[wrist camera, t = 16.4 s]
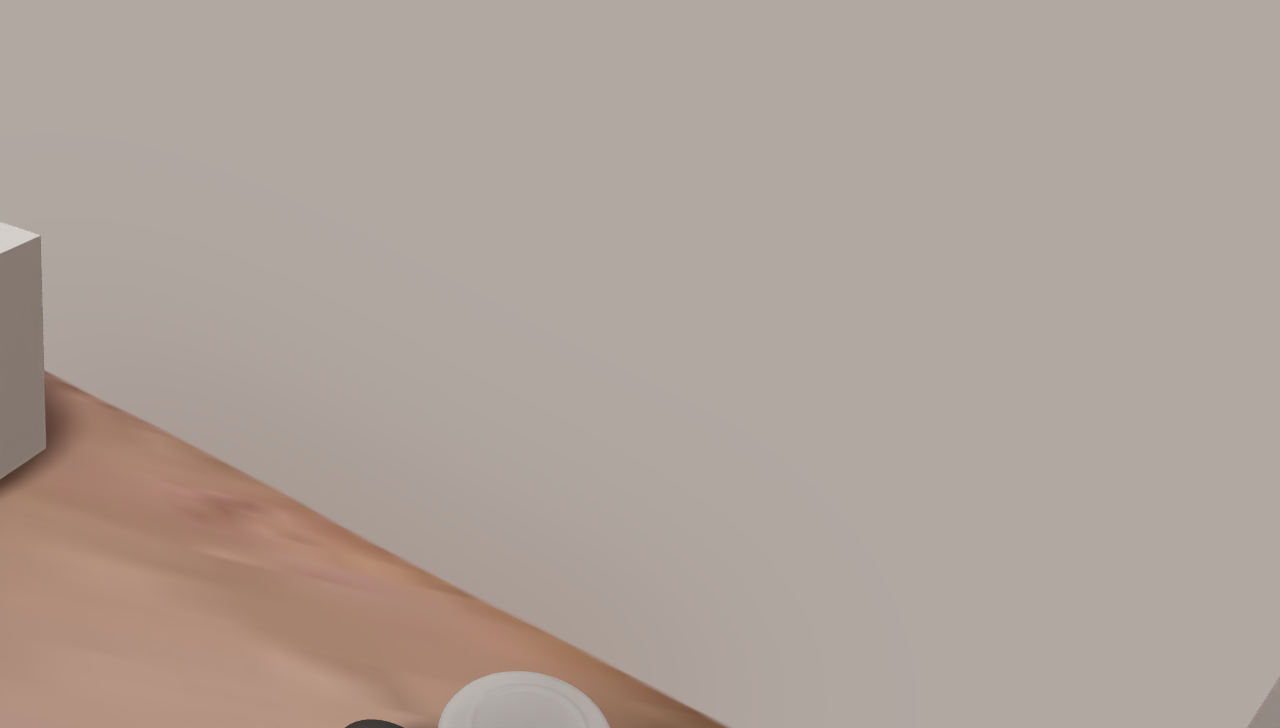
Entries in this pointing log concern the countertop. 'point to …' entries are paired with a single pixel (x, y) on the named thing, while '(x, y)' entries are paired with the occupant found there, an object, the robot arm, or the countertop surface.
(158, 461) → the countertop surface
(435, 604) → the countertop surface
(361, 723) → the toy chassis
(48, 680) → the countertop surface
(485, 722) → the spice jar
